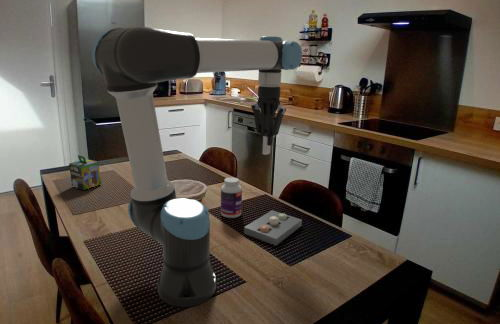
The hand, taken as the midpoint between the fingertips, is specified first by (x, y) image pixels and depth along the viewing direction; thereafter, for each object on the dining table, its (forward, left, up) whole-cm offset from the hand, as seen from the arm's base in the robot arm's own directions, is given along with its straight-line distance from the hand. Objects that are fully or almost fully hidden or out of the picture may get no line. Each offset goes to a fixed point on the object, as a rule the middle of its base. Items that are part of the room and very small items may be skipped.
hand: (266, 153), depth 122 cm
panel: (-3, -6, -26) cm, 27 cm away
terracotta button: (-9, -6, -26) cm, 28 cm away
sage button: (+3, -7, -26) cm, 27 cm away
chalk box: (-22, +83, -27) cm, 90 cm away
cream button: (-3, -7, -25) cm, 26 cm away
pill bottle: (-3, +13, -27) cm, 30 cm away
